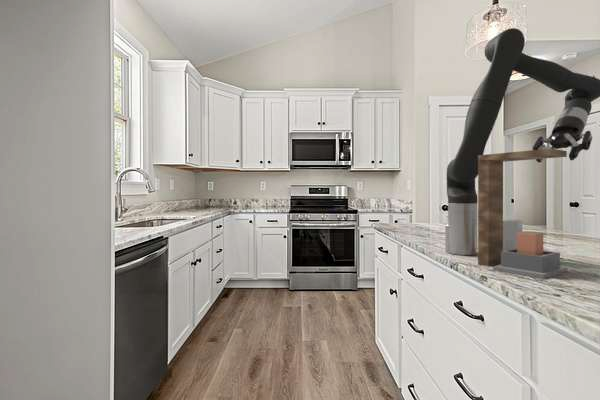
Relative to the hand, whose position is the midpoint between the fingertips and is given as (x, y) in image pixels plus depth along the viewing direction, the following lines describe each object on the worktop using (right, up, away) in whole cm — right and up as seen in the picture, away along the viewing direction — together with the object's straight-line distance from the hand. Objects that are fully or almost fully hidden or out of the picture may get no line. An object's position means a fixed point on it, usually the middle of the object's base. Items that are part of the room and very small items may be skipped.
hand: (554, 159), depth 106 cm
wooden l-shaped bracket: (-16, -31, -9) cm, 36 cm away
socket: (-15, -31, -12) cm, 36 cm away
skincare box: (-8, -31, +7) cm, 33 cm away
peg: (-15, -30, -12) cm, 36 cm away
